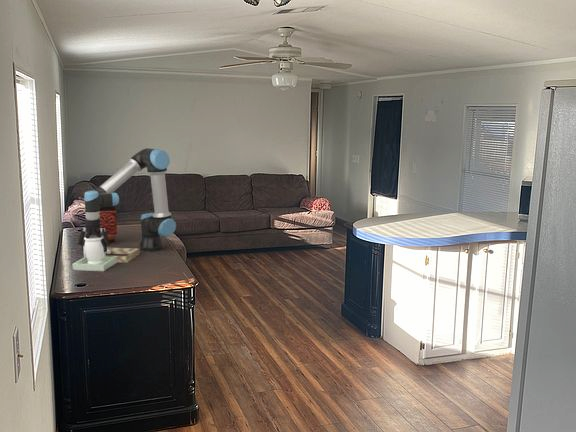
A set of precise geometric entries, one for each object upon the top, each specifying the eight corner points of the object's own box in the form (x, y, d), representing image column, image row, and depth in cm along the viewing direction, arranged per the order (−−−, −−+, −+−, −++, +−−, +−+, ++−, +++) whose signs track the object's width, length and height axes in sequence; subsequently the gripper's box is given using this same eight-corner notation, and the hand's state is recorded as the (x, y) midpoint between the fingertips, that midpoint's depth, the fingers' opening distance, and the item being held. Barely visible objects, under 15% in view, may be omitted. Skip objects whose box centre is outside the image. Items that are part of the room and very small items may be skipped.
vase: (117, 239, 391) (114, 196, 386) (117, 244, 379) (115, 199, 373) (95, 241, 387) (93, 197, 381) (95, 245, 374) (93, 200, 369)
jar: (87, 266, 319) (85, 239, 316) (84, 261, 328) (82, 236, 325) (106, 263, 324) (105, 237, 321) (103, 259, 333) (101, 234, 330)
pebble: (112, 253, 354) (111, 248, 353) (110, 255, 351) (109, 250, 350) (107, 253, 354) (107, 248, 354) (105, 254, 351) (104, 249, 351)
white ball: (136, 254, 352) (136, 249, 352) (134, 256, 349) (134, 250, 349) (131, 254, 353) (131, 249, 352) (129, 255, 350) (129, 250, 349)
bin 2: (139, 254, 354) (139, 248, 353) (127, 262, 334) (127, 256, 334) (105, 252, 356) (105, 247, 355) (91, 261, 337) (91, 255, 336)
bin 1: (116, 262, 334) (116, 256, 333) (103, 271, 316) (103, 265, 316) (87, 261, 336) (87, 255, 335) (72, 270, 318) (72, 263, 318)
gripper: (115, 218, 323) (116, 256, 328) (76, 217, 326) (78, 254, 330) (109, 220, 316) (111, 259, 320) (70, 219, 319) (72, 258, 323)
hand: (94, 257), depth 325 cm, fingers closed on jar, 10 cm apart
